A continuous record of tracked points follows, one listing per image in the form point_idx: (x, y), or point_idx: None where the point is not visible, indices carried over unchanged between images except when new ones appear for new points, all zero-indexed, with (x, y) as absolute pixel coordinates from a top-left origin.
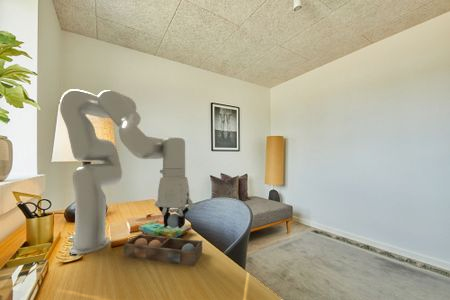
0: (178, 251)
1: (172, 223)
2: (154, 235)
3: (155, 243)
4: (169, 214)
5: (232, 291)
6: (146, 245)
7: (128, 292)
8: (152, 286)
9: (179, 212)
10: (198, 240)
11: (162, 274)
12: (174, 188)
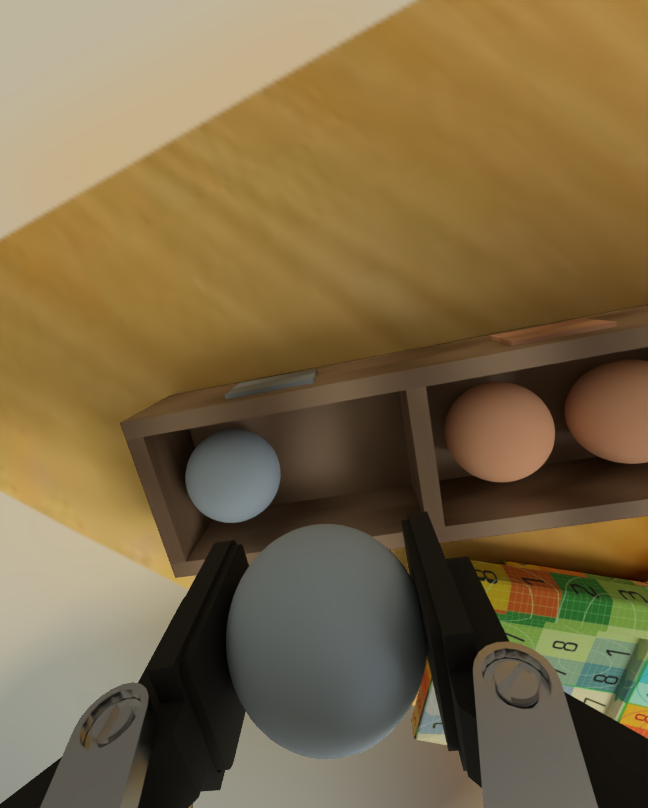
0: (232, 400)
1: (285, 546)
2: (636, 584)
3: (486, 428)
4: (441, 717)
5: None
6: (572, 422)
7: (355, 65)
8: (267, 173)
9: (127, 762)
10: None
11: (291, 281)
12: None
